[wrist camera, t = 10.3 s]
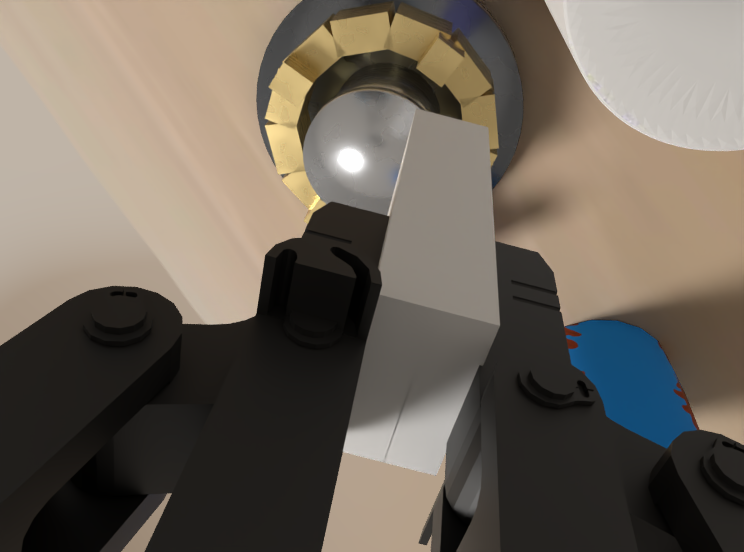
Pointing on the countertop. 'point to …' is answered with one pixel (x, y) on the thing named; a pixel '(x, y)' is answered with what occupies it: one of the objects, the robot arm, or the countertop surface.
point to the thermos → (631, 378)
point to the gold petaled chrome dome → (361, 35)
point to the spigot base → (343, 66)
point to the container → (663, 65)
